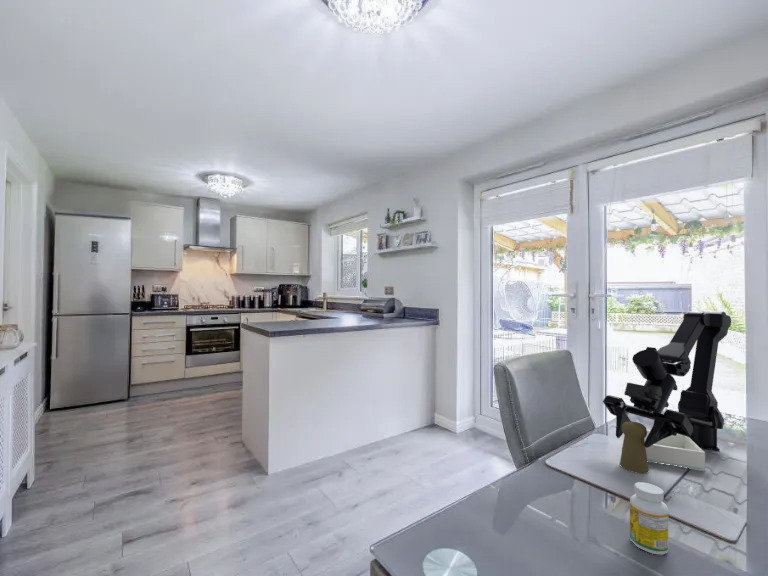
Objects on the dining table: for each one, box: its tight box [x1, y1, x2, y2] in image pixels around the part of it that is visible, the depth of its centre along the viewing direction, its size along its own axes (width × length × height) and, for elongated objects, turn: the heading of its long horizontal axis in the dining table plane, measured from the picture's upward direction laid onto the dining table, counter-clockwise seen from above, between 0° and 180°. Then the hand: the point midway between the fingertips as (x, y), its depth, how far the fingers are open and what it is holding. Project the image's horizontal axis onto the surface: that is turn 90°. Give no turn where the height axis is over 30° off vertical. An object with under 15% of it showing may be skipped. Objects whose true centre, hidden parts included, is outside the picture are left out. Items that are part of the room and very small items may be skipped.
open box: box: [644, 429, 706, 472], centre depth 100 cm, size 13×13×4 cm
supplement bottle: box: [629, 481, 669, 554], centre depth 63 cm, size 5×5×10 cm
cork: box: [619, 420, 650, 474], centre depth 93 cm, size 6×6×11 cm
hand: (630, 441), depth 92 cm, fingers open, 6 cm apart
